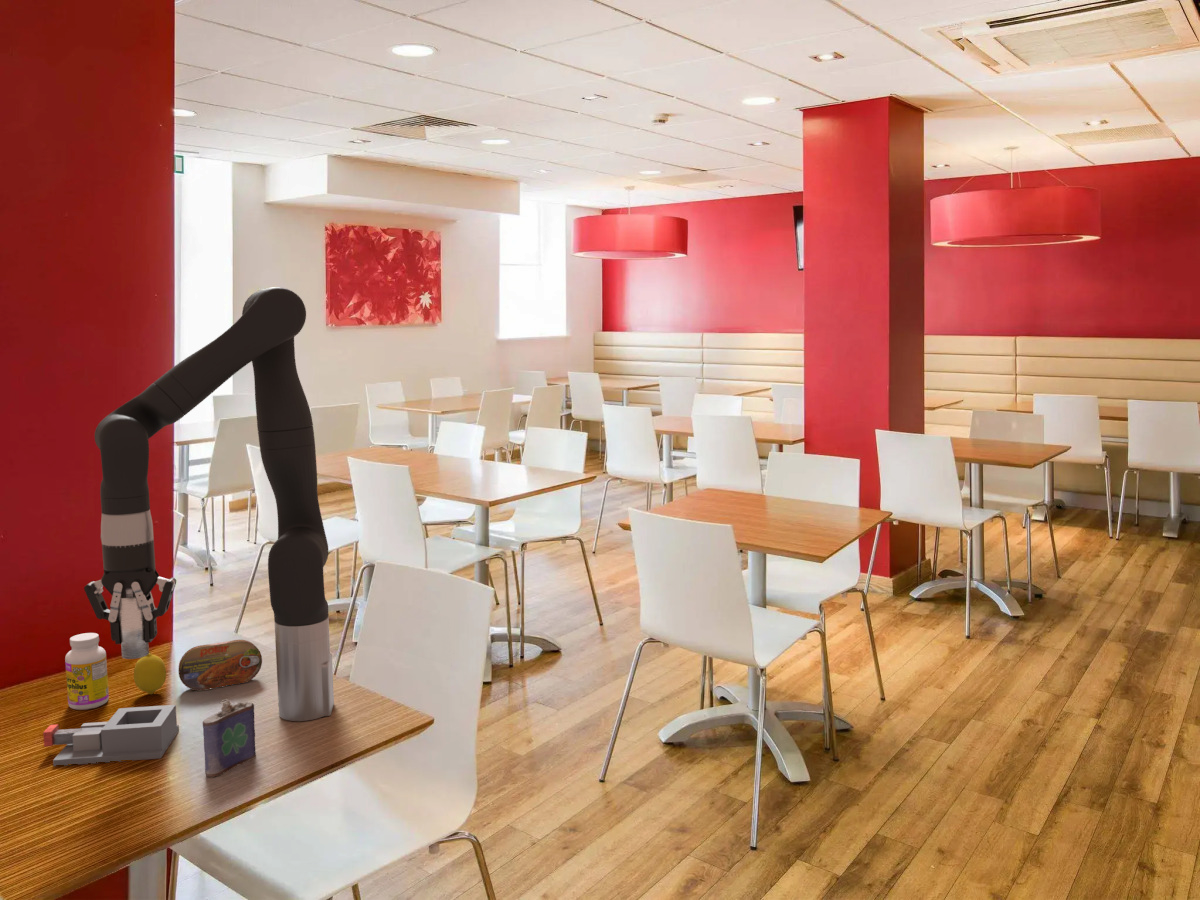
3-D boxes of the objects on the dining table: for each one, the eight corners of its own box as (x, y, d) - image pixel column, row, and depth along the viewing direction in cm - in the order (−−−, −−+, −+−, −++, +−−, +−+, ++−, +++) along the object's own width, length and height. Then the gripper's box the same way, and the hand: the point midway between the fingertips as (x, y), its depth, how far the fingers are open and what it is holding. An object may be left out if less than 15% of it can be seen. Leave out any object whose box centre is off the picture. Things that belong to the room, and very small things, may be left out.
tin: (180, 694, 182) (177, 651, 181) (178, 688, 185) (176, 646, 184) (263, 680, 189) (261, 639, 188) (261, 675, 192) (259, 634, 191)
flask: (212, 779, 147) (208, 712, 146) (199, 775, 149) (195, 708, 148) (260, 756, 155) (257, 692, 154) (247, 752, 157) (244, 689, 156)
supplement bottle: (60, 707, 176) (54, 639, 174) (91, 695, 182) (86, 629, 180) (86, 713, 173) (81, 644, 172) (117, 700, 179) (112, 633, 178)
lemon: (154, 700, 179) (152, 659, 178) (128, 698, 180) (125, 657, 179) (173, 689, 184) (171, 649, 183) (148, 687, 185) (145, 647, 184)
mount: (178, 730, 166) (177, 702, 165) (160, 758, 155) (159, 728, 154) (78, 737, 163) (76, 709, 162) (53, 766, 152) (51, 736, 152)
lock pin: (111, 735, 160) (110, 720, 160) (105, 742, 157) (104, 728, 157) (51, 739, 158) (50, 724, 158) (44, 747, 155) (43, 732, 155)
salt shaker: (152, 650, 160) (147, 582, 158) (144, 658, 156) (140, 589, 154) (126, 651, 159) (121, 583, 158) (118, 659, 155) (113, 590, 154)
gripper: (180, 532, 160) (186, 632, 162) (88, 535, 158) (95, 637, 160) (168, 542, 153) (174, 647, 155) (71, 545, 150) (79, 652, 152)
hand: (134, 641), depth 157 cm, fingers closed on salt shaker, 4 cm apart
